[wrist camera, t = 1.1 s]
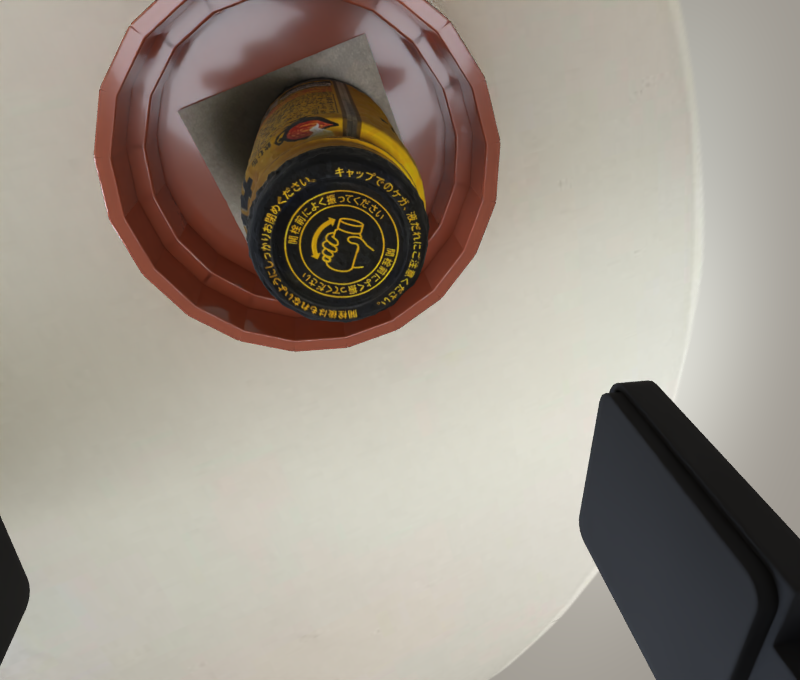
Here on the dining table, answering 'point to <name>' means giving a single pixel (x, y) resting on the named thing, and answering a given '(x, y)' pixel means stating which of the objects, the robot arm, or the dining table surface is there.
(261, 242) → the condiment
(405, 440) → the dining table surface
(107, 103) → the bowl
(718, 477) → the robot arm
